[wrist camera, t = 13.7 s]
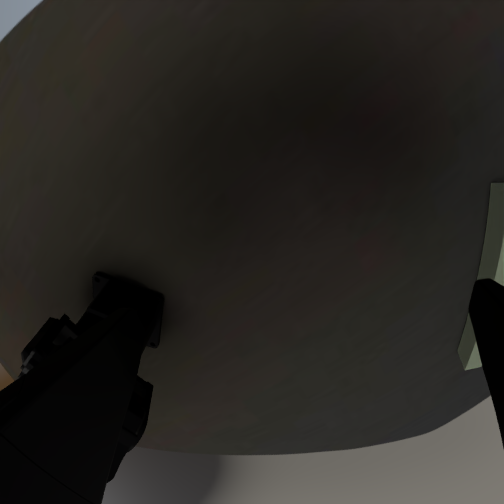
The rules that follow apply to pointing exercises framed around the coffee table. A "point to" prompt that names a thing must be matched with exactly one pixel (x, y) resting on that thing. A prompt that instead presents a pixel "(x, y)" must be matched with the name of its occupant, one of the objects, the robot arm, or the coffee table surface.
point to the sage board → (487, 269)
